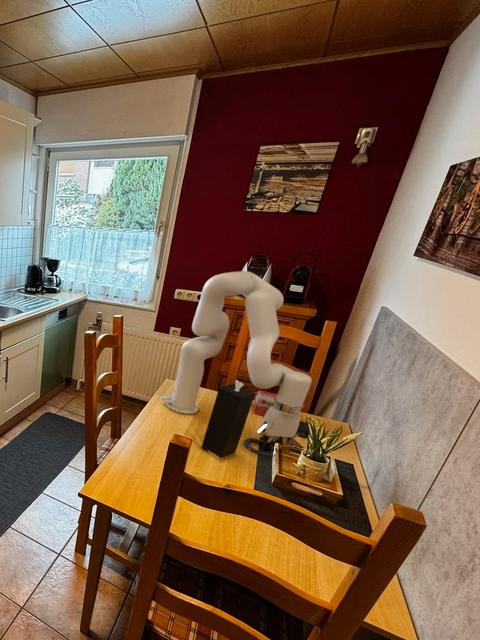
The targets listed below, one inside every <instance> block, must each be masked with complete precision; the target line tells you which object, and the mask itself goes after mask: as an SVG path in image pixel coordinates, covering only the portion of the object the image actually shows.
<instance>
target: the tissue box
mask: <svg viewBox="0 0 480 640" xmlns="http://www.w3.org/2000/svg"><path fill="white" fill-rule="evenodd" d="M244 386H245V384H244V383H243V382H241V381H239V380H238V379H235V383H230V384H226V385H223V386H219V387H218V389H217V394H216V397H215V400H214V403H213V406H212V409H211V414H210V417H209V420H208V424H207V426H206V430H205V433H204V437H203V440H202V443H201V449H202V450H203V451H205V452H207V453H208V454H209V453H212V454H214V455H215V456H217V457H218V458H220V459H224V458H227V457H228V456H231V455H234V454H236V453H237V449H238V445H239V444H240V443H239V442H240V440H241V437H242V434H243V431H244V428H245V425H246V422H247V419H248V417H249V414H250V411H251V408H252V404H253V403H254V400H255V398H256V392H254V391H251V390H249V389H246V388H245V387H244Z"/></svg>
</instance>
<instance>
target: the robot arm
mask: <svg viewBox="0 0 480 640" xmlns="http://www.w3.org/2000/svg"><path fill="white" fill-rule="evenodd" d="M203 285H204V286H203V287H202V290H201V294H200V299H199V302H198V305H197V308H196V310H195V314H194V317H193V320H192V324H191V331H192V332H193V334H195V336H197V337H192V338H189V339H188V340H186V341H185V342H184V343H183V344H182V346H181V348H180V353H179V355H180V357H179V364H178V369H177V373H176V377H175V381H174V382H175V383H174V386H173V390H172V393H170V394H169V395H168V396H164V395H163V396H162V395H161V396H159V401H161V402H164V404H166V406H167V407H168V408H169V409H170V410H172V411H174V412H176V413H179V414H182V415H183V414H184V415H194V414H196V413H198V411H199V407H198V405H197V404H196V402H197V399H198V395H199V392H200V388H201V386H202V385H201V384H202V381H203V376H204V373H205V360H207V359H211V358H213V357H215V356H217V355H219V353H220V352H221V350H222V348H223V345H224V343H225V340H226V337H227V334H228V331H229V328H230V318H229V316H228V314H227V313H226V312H225V311H223V308H224V306H225V297H232V296H240V295H242V296H243V297H245V301H244V306H245V312H246V318H247V324H248V325H247V326H248V331H249V337H250V339H249V342H248V345H247V346H248V347H247V354H246V365H247V371H248V372H247V373H248V377H249V380H250V382H251V384H252V385H253V386H255V388H258V389H261V390H268V389H271V388H275V387H276V386H277V387H278V386H279V389H278V392H277V393H276V394H277V397H276V400H275V403H274V406H271V407H270V408H269V409H268V411H267V412H266V414H265V416H264V415H263V418H262V420H261V422H260V425H259V429H258V430H257V431H256V434H257V435H258V436H259V437H261V438H262V439H263V441H264V442H263V444H261V449H263V450H266V452H270V447H271V445H272V446H273V447H274V445H275V443H280V444H281V445H283V444H286V442H287V441H289V440H291V439H293V438H294V439H296V438H297V437H298V435H297V434H296V432H297V429H298V426H299V422H300V421H301V416H302V414H301V412H300V410H301V411H302V409H305V404H304V402H305V400H306V398H307V394H308V392H309V390H310V388H311V385H312V381H313V379H312V377H311V376H310V375H309V374H306V373H304V372H300V371H295V370H293V369H292V368H289V367H288V366H285V365H283V364H281V363H277V362H272V360H271V359H272V358H271V357H272V350H273V348H274V346H275V343H276V342H277V341H278V339H279V337H280V327H279V322H278V316H277V315H278V314H277V310H279V309H281V308H282V306H283V304H284V296H283V293H282V292H281V291H280V289H278V288H276V287H275V286H273V285H271V284H270V283H269V282H267V281H266V280H264V279H263V278H261V277H260V276H258V275H257V274H255V273H254V272H251V271H249V270H242V271H241V270H240V271H230V272H229V271H228V272H223V273H219V274H215V275H213V276H212V277H210V278H209V279H207V281H206V282H205V284H203ZM264 432H266V433H265V434H264ZM268 436H269V437H268ZM274 436H279V437H278V439H276V441H275V443H273V444H272V443H271V442H273V441H272V439H273V437H274Z"/></svg>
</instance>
